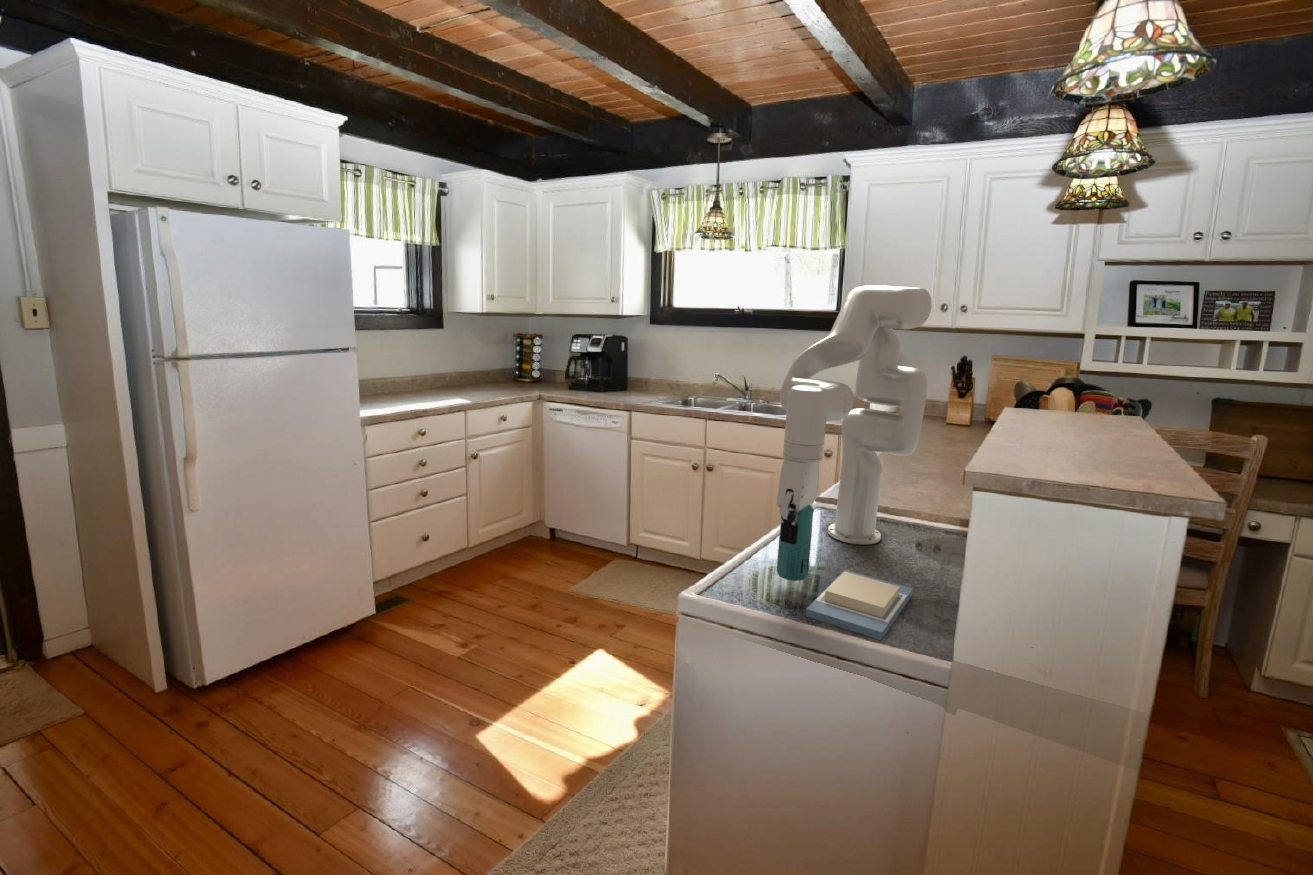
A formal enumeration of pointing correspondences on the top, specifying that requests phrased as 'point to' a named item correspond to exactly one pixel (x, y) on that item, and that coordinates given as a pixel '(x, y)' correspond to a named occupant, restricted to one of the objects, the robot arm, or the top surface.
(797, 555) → the beverage bottle
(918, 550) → the top surface
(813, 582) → the top surface
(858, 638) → the top surface
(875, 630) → the board
